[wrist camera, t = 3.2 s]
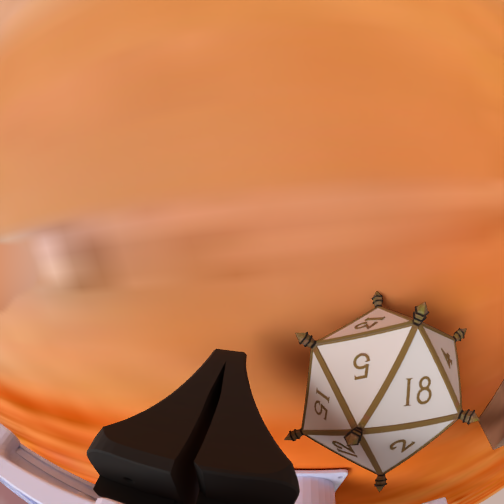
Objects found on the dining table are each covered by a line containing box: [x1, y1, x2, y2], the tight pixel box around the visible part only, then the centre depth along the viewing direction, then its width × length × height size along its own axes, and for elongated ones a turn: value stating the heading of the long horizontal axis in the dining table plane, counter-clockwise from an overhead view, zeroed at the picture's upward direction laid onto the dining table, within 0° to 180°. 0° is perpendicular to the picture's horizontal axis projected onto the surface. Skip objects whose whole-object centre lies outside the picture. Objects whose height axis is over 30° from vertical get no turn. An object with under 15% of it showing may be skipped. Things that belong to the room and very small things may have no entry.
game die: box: [284, 291, 479, 492], centre depth 11 cm, size 9×8×10 cm
